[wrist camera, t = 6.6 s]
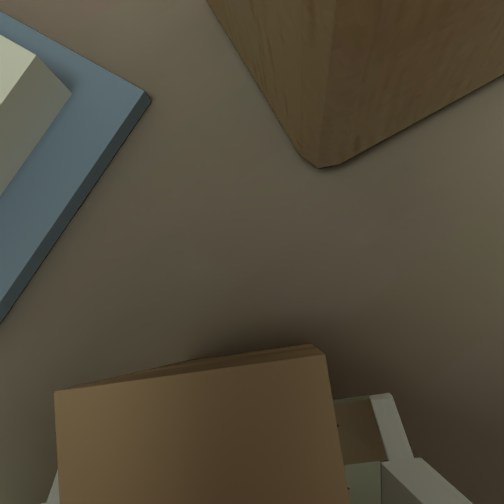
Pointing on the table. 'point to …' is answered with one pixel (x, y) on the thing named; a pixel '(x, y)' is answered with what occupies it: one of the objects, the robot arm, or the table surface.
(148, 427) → the walnut pillar
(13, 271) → the board
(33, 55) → the foundation slab
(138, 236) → the table surface
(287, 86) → the wooden block
